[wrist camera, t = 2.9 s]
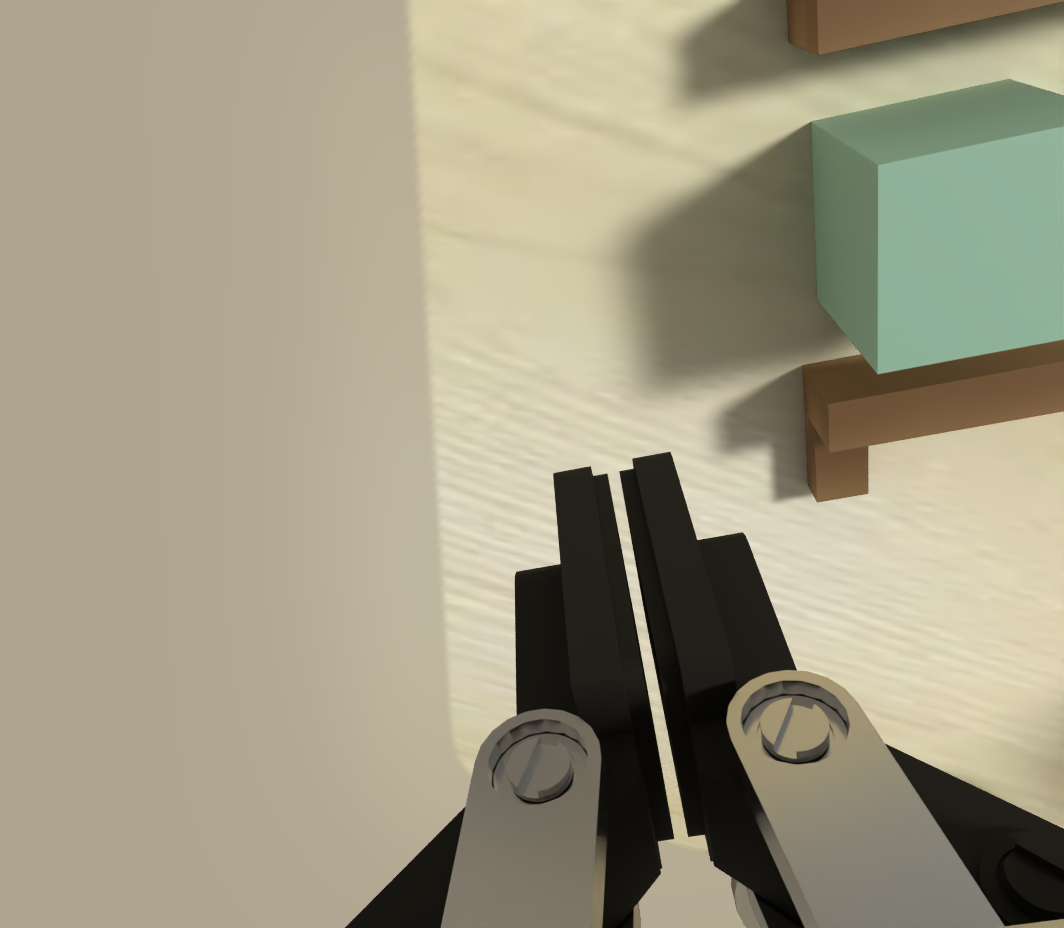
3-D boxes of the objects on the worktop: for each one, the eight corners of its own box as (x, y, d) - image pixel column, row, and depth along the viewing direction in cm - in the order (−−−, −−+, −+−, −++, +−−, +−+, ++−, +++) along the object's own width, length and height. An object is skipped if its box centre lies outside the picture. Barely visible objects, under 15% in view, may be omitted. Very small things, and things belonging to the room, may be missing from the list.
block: (993, 264, 25) (1092, 333, 21) (816, 299, 25) (877, 374, 21) (1007, 78, 22) (1124, 113, 18) (810, 120, 23) (878, 165, 18)
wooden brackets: (1192, 418, 27) (1249, 459, 25) (807, 485, 29) (831, 530, 26) (1355, -313, 18) (1467, -345, 16) (779, -173, 19) (811, -185, 17)
